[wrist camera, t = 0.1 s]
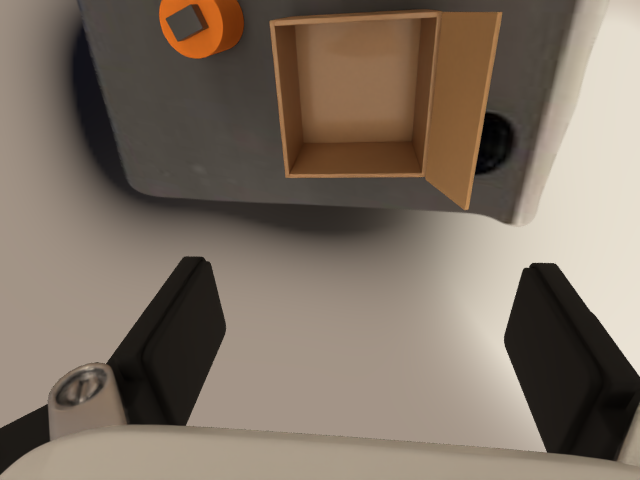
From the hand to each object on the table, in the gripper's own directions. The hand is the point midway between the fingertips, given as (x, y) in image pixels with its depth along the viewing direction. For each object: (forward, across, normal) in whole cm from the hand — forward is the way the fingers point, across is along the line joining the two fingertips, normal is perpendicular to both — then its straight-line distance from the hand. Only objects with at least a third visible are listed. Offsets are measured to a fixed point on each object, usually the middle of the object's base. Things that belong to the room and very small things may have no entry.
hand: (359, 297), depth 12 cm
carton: (+37, +1, 0) cm, 37 cm away
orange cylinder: (+37, +16, -7) cm, 41 cm away
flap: (+22, -7, 0) cm, 23 cm away
